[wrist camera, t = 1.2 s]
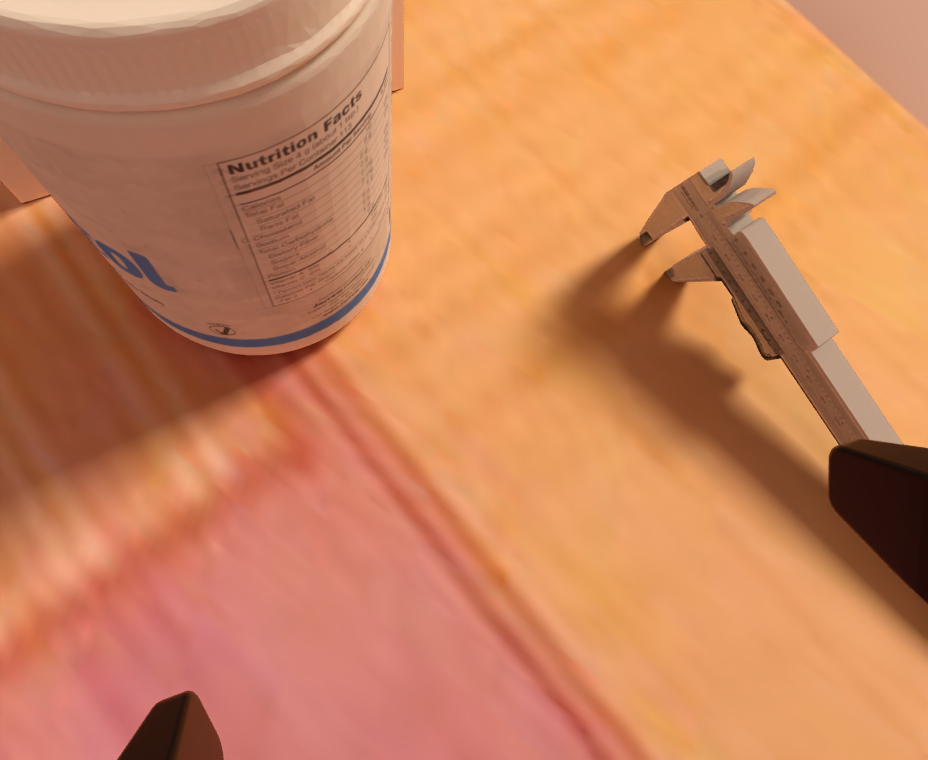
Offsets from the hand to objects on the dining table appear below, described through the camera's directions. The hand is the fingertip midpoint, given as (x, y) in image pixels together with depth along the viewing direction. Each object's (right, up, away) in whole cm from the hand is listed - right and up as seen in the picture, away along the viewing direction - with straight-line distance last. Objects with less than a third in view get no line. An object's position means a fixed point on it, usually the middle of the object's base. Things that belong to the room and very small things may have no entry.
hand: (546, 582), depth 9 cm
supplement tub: (-9, +8, +16) cm, 20 cm away
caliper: (+12, 0, +16) cm, 20 cm away
